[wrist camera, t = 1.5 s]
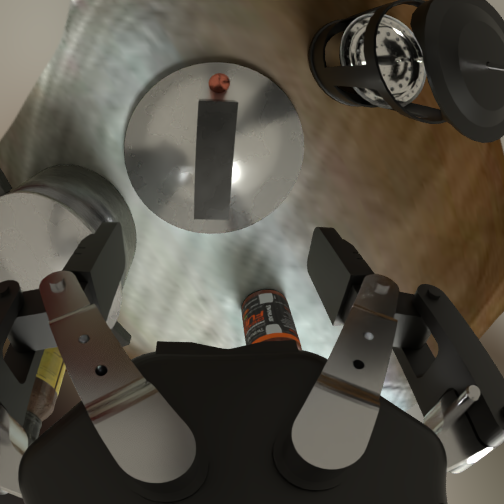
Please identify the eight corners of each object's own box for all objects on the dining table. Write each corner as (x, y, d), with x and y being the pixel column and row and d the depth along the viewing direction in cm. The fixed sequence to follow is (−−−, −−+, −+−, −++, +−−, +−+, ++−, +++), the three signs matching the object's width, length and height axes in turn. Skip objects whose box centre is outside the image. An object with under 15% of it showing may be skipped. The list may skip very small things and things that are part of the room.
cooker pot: (-15, 195, 24) (-58, 231, 16) (73, 108, 22) (22, 123, 14) (83, 320, 36) (65, 372, 28) (181, 275, 34) (175, 333, 26)
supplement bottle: (251, 282, 35) (266, 356, 26) (294, 292, 37) (320, 363, 28) (233, 316, 38) (242, 390, 29) (274, 325, 40) (292, 394, 30)
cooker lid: (129, 65, 21) (112, 61, 17) (310, 73, 24) (330, 72, 20) (132, 227, 30) (120, 252, 26) (287, 230, 33) (300, 255, 28)
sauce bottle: (35, 311, 34) (-14, 426, 17) (68, 314, 35) (25, 440, 18) (50, 341, 37) (15, 450, 21) (82, 344, 38) (52, 462, 21)
